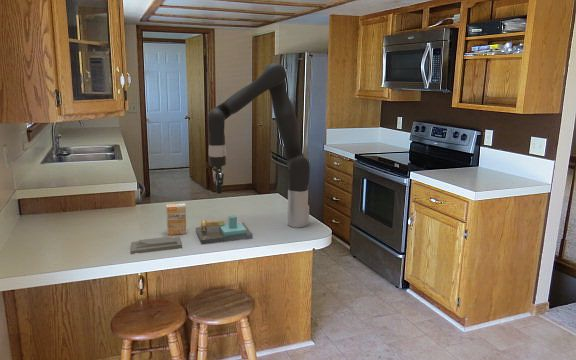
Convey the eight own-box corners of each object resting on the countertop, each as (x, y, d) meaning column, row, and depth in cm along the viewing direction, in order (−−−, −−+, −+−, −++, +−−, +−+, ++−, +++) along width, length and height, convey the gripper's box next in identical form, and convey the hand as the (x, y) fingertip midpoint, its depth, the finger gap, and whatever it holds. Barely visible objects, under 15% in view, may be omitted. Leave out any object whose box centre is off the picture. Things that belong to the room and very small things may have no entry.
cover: (241, 225, 212) (240, 212, 211) (246, 233, 203) (246, 218, 202) (219, 228, 209) (219, 214, 208) (224, 235, 200) (223, 221, 198)
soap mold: (130, 246, 194) (130, 238, 193) (180, 241, 200) (179, 233, 200) (131, 255, 185) (130, 247, 184) (182, 249, 191) (182, 241, 190)
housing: (243, 226, 217) (243, 222, 217) (252, 238, 203) (252, 234, 202) (195, 231, 210) (195, 227, 210) (201, 244, 195) (201, 239, 195)
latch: (201, 231, 204) (201, 221, 203) (200, 229, 207) (200, 220, 206) (224, 228, 208) (224, 219, 207) (223, 226, 210) (223, 217, 209)
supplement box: (167, 235, 205) (166, 207, 202) (167, 232, 209) (165, 203, 206) (186, 234, 207) (185, 205, 204) (186, 230, 212) (185, 202, 208)
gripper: (229, 157, 202) (229, 195, 206) (222, 151, 215) (223, 187, 219) (211, 158, 199) (213, 197, 203) (206, 152, 212) (207, 189, 216)
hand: (218, 192), depth 211 cm, fingers open, 3 cm apart
